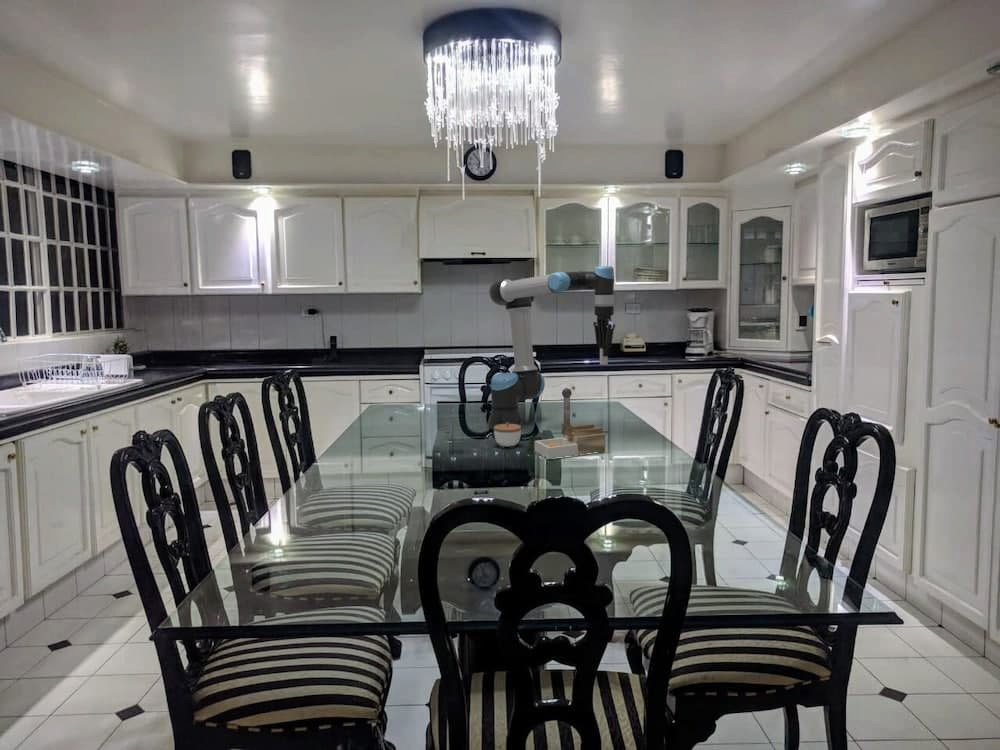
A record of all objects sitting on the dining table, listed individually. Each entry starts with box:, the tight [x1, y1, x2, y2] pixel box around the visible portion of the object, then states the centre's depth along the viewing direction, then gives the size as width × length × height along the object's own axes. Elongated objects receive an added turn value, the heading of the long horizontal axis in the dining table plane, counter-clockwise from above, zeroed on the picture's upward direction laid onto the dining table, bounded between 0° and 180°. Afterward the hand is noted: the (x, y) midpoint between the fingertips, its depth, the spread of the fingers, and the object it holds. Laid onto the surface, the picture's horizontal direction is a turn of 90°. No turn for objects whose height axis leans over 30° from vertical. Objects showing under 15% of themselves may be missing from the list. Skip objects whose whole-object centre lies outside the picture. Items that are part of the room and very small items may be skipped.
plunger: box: [561, 387, 573, 436], centre depth 273 cm, size 5×4×18 cm
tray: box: [534, 437, 578, 458], centre depth 273 cm, size 12×12×4 cm
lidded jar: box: [493, 422, 522, 447], centre depth 286 cm, size 11×11×9 cm
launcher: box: [562, 423, 606, 456], centre depth 277 cm, size 11×12×9 cm
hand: (603, 364), depth 293 cm, fingers closed
